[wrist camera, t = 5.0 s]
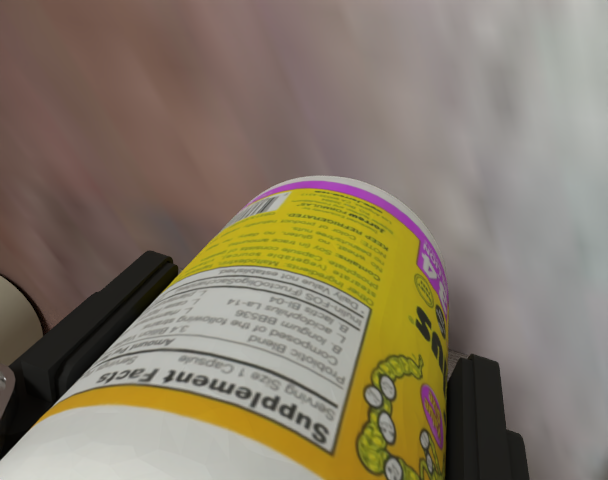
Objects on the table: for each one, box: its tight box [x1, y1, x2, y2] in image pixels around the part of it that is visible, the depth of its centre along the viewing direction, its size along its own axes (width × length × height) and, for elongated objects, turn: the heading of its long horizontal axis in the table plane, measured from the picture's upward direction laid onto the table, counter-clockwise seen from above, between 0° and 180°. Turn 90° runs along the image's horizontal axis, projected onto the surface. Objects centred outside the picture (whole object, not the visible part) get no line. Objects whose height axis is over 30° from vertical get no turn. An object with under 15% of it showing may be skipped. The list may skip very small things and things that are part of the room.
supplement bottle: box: [0, 176, 449, 480], centre depth 9 cm, size 7×7×13 cm
